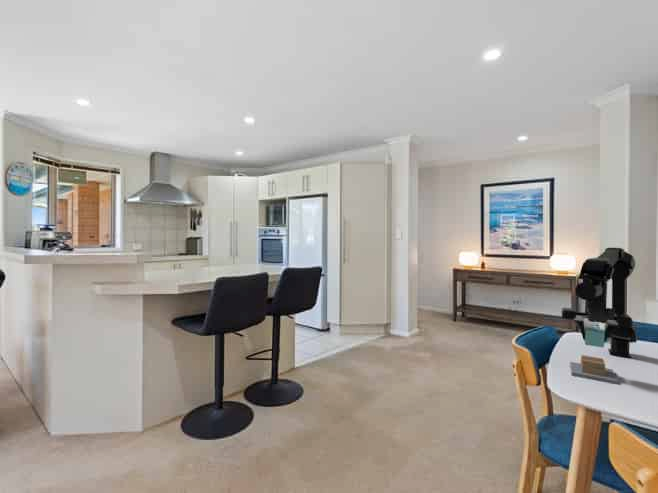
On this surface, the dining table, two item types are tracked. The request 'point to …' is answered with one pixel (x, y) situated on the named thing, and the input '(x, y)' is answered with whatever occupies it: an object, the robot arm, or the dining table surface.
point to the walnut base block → (592, 365)
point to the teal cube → (594, 337)
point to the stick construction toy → (597, 328)
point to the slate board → (578, 372)
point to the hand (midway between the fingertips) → (593, 341)
